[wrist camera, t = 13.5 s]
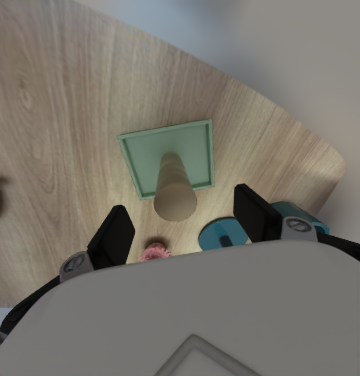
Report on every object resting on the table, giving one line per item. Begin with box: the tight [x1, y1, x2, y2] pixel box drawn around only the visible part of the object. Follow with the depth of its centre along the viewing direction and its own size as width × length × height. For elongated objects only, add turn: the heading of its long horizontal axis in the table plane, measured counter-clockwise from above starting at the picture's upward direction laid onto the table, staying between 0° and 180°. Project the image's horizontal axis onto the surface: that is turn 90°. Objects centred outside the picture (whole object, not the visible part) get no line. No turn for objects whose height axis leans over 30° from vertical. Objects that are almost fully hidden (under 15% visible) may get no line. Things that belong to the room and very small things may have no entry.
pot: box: [271, 202, 329, 235], centre depth 31 cm, size 13×13×8 cm
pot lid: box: [199, 218, 248, 251], centre depth 33 cm, size 14×14×6 cm
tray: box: [117, 119, 215, 200], centre depth 24 cm, size 15×12×2 cm
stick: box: [154, 152, 197, 221], centre depth 18 cm, size 4×4×14 cm
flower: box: [140, 242, 171, 261], centre depth 32 cm, size 8×8×6 cm
